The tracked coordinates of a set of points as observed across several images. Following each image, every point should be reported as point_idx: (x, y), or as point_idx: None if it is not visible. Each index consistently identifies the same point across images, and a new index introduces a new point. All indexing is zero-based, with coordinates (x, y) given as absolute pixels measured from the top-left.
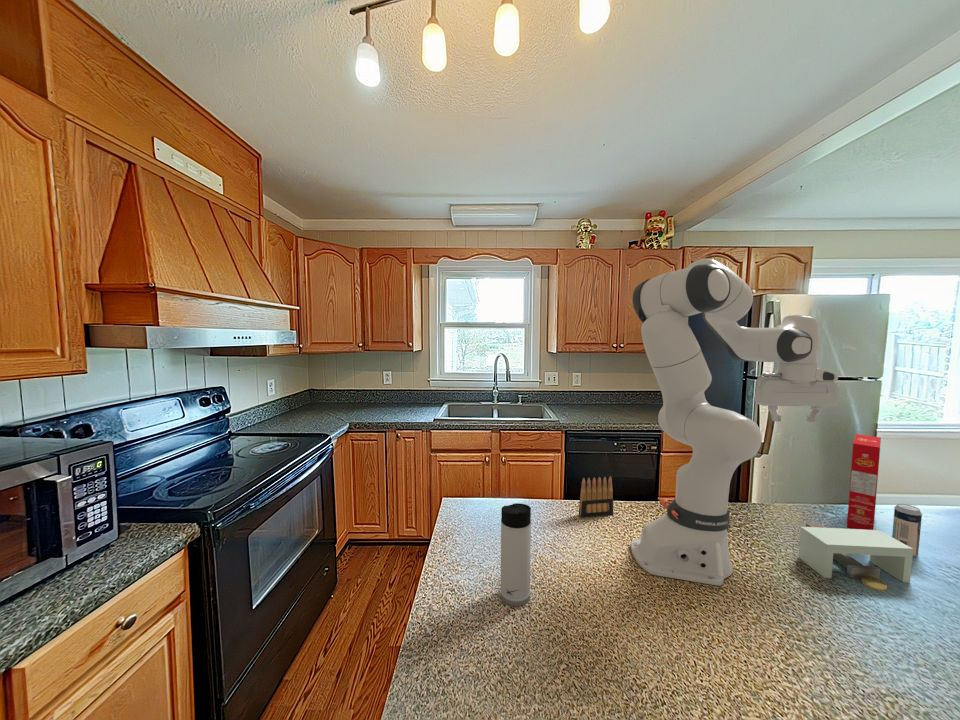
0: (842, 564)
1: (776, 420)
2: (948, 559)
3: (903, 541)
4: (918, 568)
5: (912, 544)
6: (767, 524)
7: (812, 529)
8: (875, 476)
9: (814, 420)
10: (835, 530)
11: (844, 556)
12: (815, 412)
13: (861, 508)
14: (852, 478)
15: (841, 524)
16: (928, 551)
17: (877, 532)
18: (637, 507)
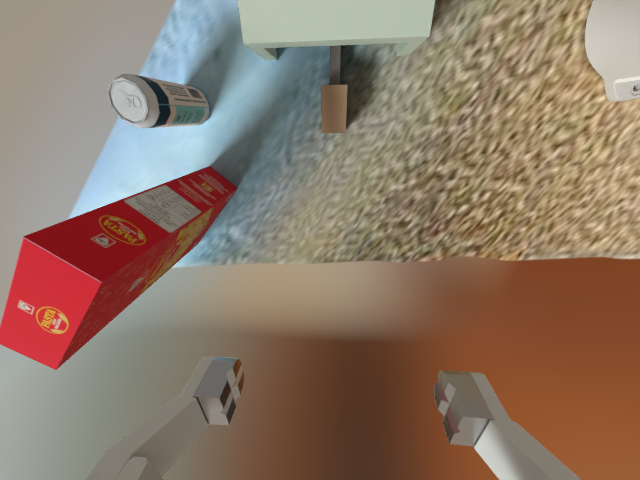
0: None
1: (478, 376)
2: None
3: (189, 92)
4: (206, 42)
5: (179, 84)
6: (370, 188)
7: (410, 21)
8: (129, 200)
9: (213, 364)
10: (353, 23)
11: None
12: (167, 438)
13: (201, 188)
14: (181, 222)
15: (238, 199)
16: None
17: (255, 26)
18: (585, 236)
